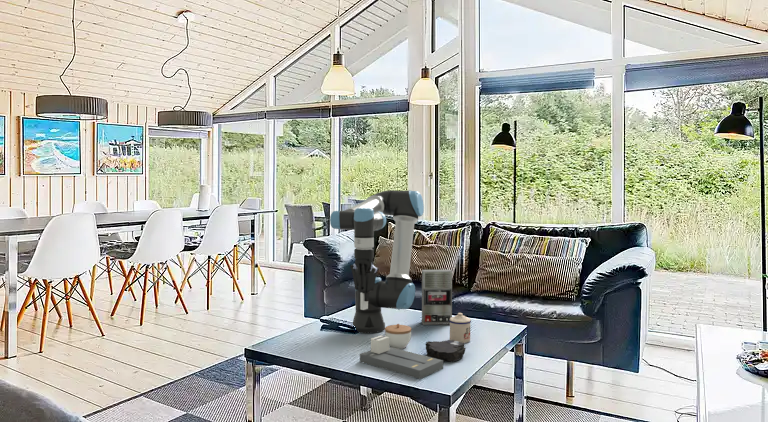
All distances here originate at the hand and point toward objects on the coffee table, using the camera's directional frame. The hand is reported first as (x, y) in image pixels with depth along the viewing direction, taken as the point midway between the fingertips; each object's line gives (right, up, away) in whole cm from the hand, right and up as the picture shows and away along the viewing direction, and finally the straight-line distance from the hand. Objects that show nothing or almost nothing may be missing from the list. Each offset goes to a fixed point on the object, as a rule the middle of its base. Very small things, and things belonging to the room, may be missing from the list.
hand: (364, 309), depth 223 cm
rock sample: (+31, -19, +1) cm, 36 cm away
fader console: (+14, -19, -10) cm, 26 cm away
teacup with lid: (+40, -17, +22) cm, 49 cm away
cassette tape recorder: (+32, -15, +48) cm, 60 cm away
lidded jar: (+13, -18, +12) cm, 25 cm away
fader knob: (+6, -15, -4) cm, 17 cm away
